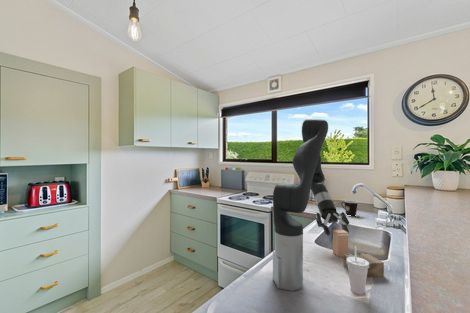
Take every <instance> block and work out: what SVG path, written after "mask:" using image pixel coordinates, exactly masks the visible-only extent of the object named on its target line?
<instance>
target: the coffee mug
mask: <svg viewBox="0 0 470 313" xmlns="http://www.w3.org/2000/svg"><path fill="white" fill-rule="evenodd" d="M358 202H359V201H357V200H356V201H355V200H344V201H342V202H341V204H340V205H341V207H342V208H343V209H344V210H345V215H346V214H347V215H351V216H355V215H356V216H357V210H358ZM343 203H344V206H343ZM347 215H346V216H347ZM351 216H350V217H351ZM356 216H355V217H356Z"/></svg>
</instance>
